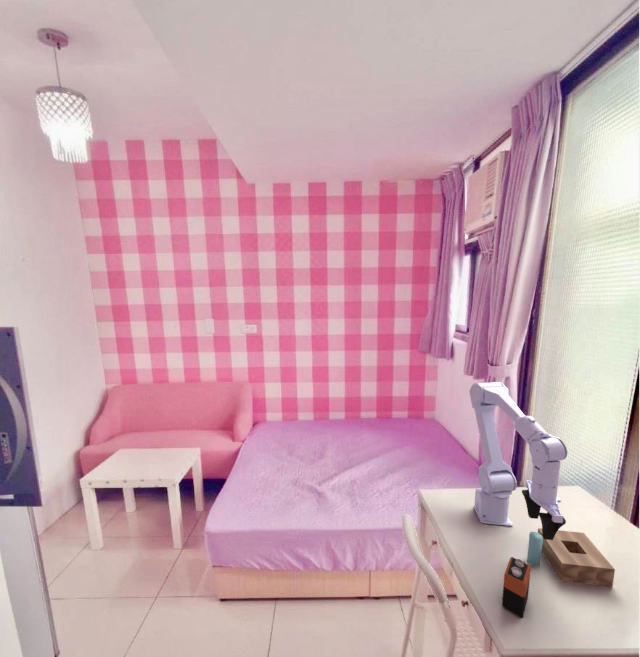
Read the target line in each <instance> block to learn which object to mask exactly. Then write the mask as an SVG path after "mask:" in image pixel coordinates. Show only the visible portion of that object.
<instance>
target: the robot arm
mask: <svg viewBox="0 0 640 657" xmlns="http://www.w3.org/2000/svg"><path fill="white" fill-rule="evenodd" d="M468 392H469V397H470V402H471V407H472V408H473V409H474V414H475V418H476V419H475V420H476V423H477V428H478V433H479V437H480V438H479V439H480V443H481V448H482V452H483V457H484V462H483V463H482V464H481V465H480V466H478V483H479V486H480V488H476V489H475V492H474V505H473V509H474V510H475V513H476V514H477V517H478V519H479V522H480V523H481V524H486V525H487V524H488V525H497V526H508V527H512V526H514V524H513V522H512V521H511V519H510V517H509V504H510V495H512V494H513V492H514V491H515V490H517V487H518V481H517V479H516V476H515V475H514V473H513V469H512V467H511V465H509V464H508V463H507V462H505V461H504V460H503V456H502V450H501V446H500V441H499V437H498V432H497V428H496V424H495V423H496V422H495V418H494V414H493V411H494V409H495V408H496V407H499V409H501V411H503V412H504V414H506V415H507V416H508V417H509V418H510V419H511V420H512V421H513V422H514V424H513V426H514V427H513V428H514V429H515V430H516V431H517V433H518V434H519V435H520V436H521V437H522V439H523V440H524V441H525V442H526V443H527V444H528V451H529V453H530V456H531V463H532V475H531V480H527V479H526V481H525V487H526V488H527V489H522V490H521V494H522V495H523V498H524V501H525V503H526V504H525V505H526V509H527V515H528V517H529V519H536V520H538V519H539V518H540V522H541V529H542V535H543V538H544V539H547V540H553V538H554V536H555V534H556V533H557V531H558V530H560V529H561V527H563V526H564V525H566V523H567V520H566V518H565V516H564V515H563V514H562V513H561V509H560V506H559V504H560V503H562V499H561V498H560V497H559V496H558V489H559V478H560V470H561V469H560V468H561V461H563V460H565V459H566V458H567V457H568V450H567V446H566V444H565V442H564V441H563V440H562V439H561V438H560V437H558V436H553V434H550V433H548V432H547V431H546V430H545V429H544V428H543V426H541V424H539V423H538V421H537V419H535V417H533V416H532V415H525V414H524V413H523V411H522V410H521V409H520V408H519V406H518V405H517V403H516V402H515V401H514V400H513V399H512V397H511V396H510V391H509V388H508V387H507V386H505V383H503V382H501V381H495V382H493V381H492V382H480V383H478V382H475V383H472V385H471V387H470V389H469V390H468ZM541 508H542V509H544V510H545V511H546V512H541Z"/></svg>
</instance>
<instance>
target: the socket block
mask: <svg viewBox="0 0 640 657" xmlns="http://www.w3.org/2000/svg"><path fill="white" fill-rule="evenodd" d="M537 533H539V534H540V535H541V536H542V537H543V535H542V527H541V528H539V527H538V528H537ZM541 554H543V556H544V557H545V559H546V561H547V562H548V564H549V565H550V567H551V569H552V570H553V571H554V573H555V575H556V577H557V578H558V580H559V581H562V582H563V581H564V582H568V583H569V582H570V583H571V582H572V583H578V584H587V585H594V586H596V585H597V586H602V587H610V588H612V587H613V584H614V580H615V579H614V578H615V572H616V571H615V570H616V569H615V567H613V565H612V564H611V563H610V562H609V561H608V559H607V558H606V557H605V556H604V554H603V553H602V552H601V551H600V550H599V549H598V548H597V546H596V545H595V544H594V543H593V541H591V540H590V538H589V537H588V536H587V535H586V533H584V532H582V531H581V532H579V531H570V530H560V529H558V531H557V533H556V534H555V536H554V538H553V540H547V539H544V538H543V541H542V551H541Z"/></svg>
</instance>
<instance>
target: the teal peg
mask: <svg viewBox="0 0 640 657" xmlns="http://www.w3.org/2000/svg"><path fill="white" fill-rule="evenodd" d="M542 541H543V537H542V536H541V535H540V534H539V533H538V532H536V531H530V532H529V536H528V548H527V555H526V556H527V557H526V561H527V564H528V565H529V564H530V566H532V567H537V568H539V567H541V561H542V560H541V559H542Z"/></svg>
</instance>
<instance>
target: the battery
mask: <svg viewBox="0 0 640 657" xmlns="http://www.w3.org/2000/svg"><path fill="white" fill-rule="evenodd" d="M531 570H532V568H531V564H530V565H529V563H526V562H524V561H523V560H522V559H519V558H516V557H514V556H510V558H509V560H508V563H507V566H506V568H505V571H504V576H503V585H502V586H503V587H502V598H501V599H502V600H501V606H502V608H504V609H505V610H507V611H508V612H511V613H512V614H514V615H516V616H518V617H519V618H521V619H522V618H523V617H524V614H525V611H526V608H527V607H526V606H527V603H528V599H529V591H530V580H531V579H530V578H531Z"/></svg>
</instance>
